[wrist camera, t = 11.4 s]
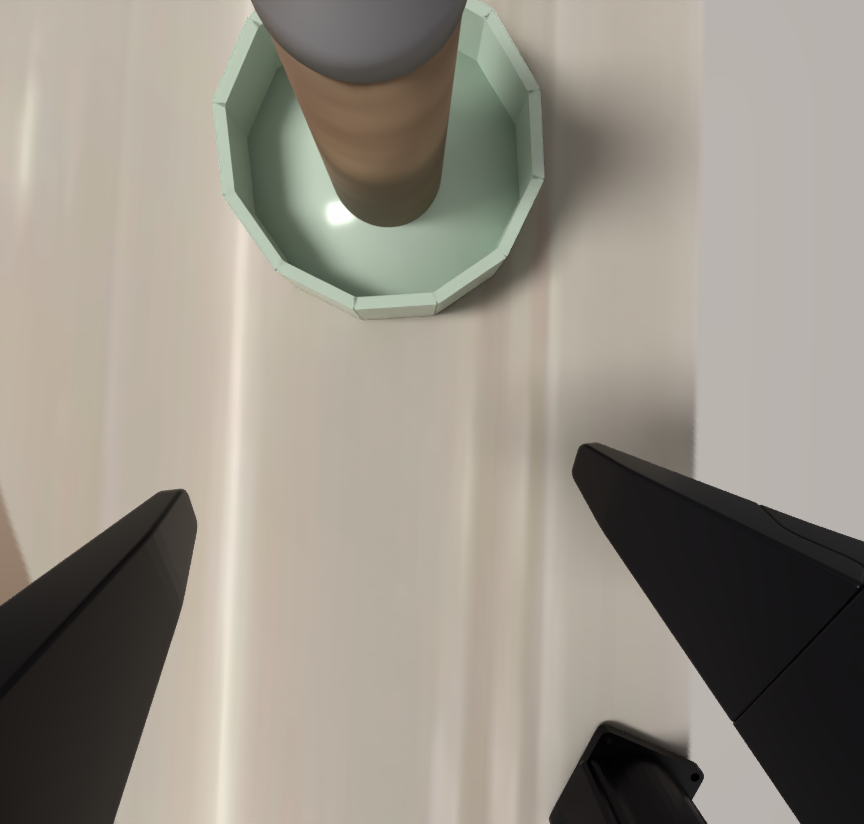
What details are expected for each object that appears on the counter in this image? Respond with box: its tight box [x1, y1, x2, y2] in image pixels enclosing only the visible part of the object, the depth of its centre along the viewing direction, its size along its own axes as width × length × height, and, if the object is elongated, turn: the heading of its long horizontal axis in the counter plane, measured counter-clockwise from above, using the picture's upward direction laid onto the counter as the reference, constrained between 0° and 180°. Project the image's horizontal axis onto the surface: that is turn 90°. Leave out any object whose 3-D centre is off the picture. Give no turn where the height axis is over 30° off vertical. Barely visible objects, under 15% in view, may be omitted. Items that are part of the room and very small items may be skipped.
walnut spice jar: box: [251, 0, 467, 227], centre depth 12 cm, size 5×5×9 cm
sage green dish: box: [212, 0, 544, 320], centre depth 16 cm, size 13×13×2 cm
